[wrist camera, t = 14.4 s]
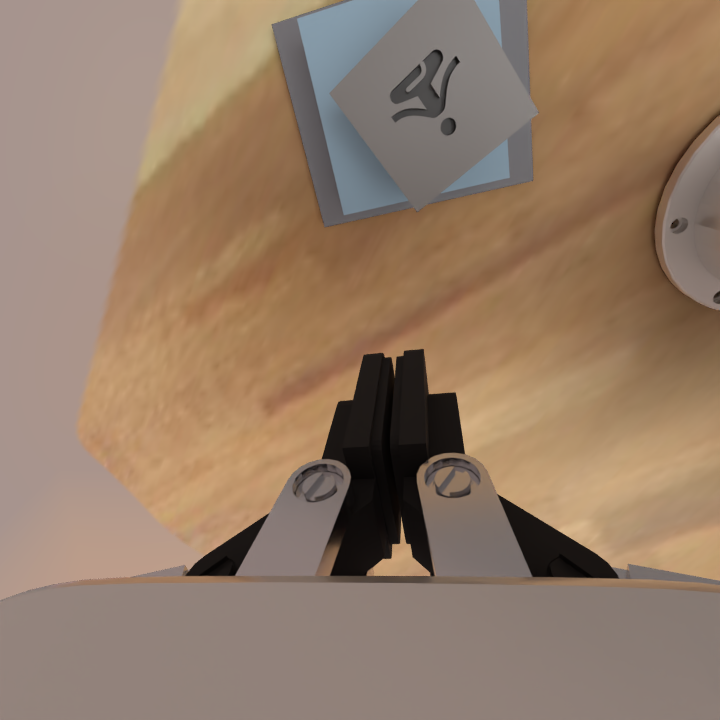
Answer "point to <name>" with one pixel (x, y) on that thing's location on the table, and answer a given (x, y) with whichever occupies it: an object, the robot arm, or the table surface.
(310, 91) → the base
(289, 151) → the table surface
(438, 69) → the dice cube
